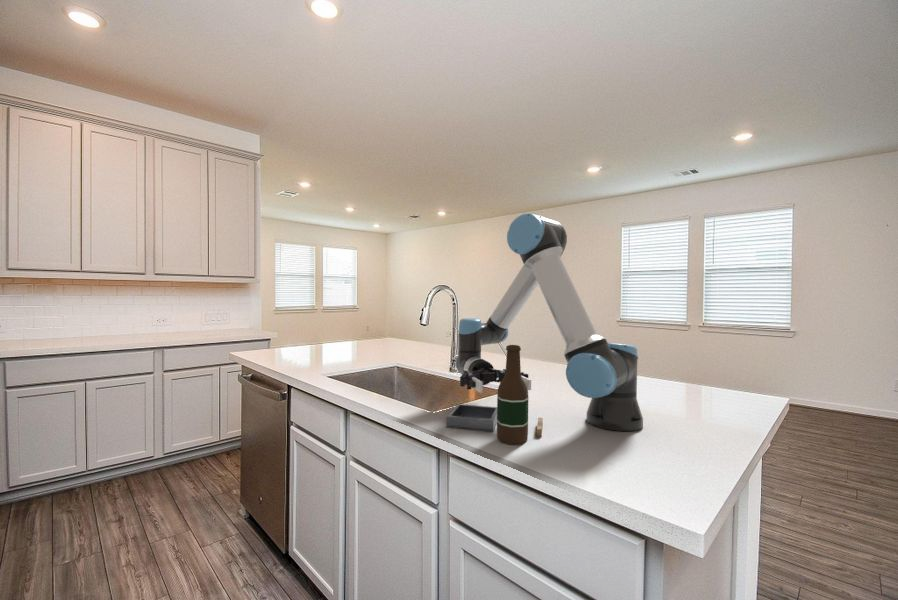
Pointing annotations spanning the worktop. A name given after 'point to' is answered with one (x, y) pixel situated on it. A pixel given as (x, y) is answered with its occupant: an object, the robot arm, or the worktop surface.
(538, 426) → the jamb strip
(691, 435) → the worktop surface
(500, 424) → the beer bottle
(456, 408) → the keeper
